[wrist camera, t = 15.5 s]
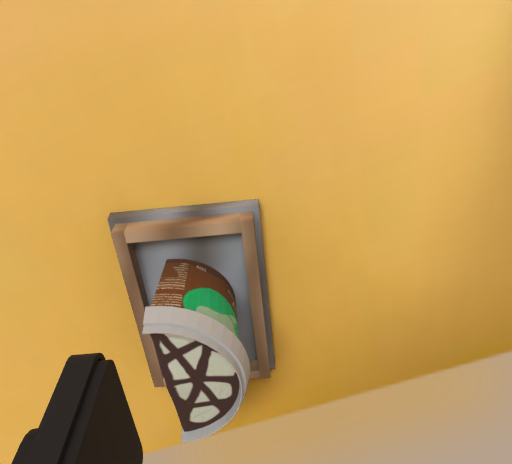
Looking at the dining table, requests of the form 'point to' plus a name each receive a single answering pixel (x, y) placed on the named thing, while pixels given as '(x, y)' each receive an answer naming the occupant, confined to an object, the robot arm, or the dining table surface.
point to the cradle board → (205, 251)
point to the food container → (198, 345)
